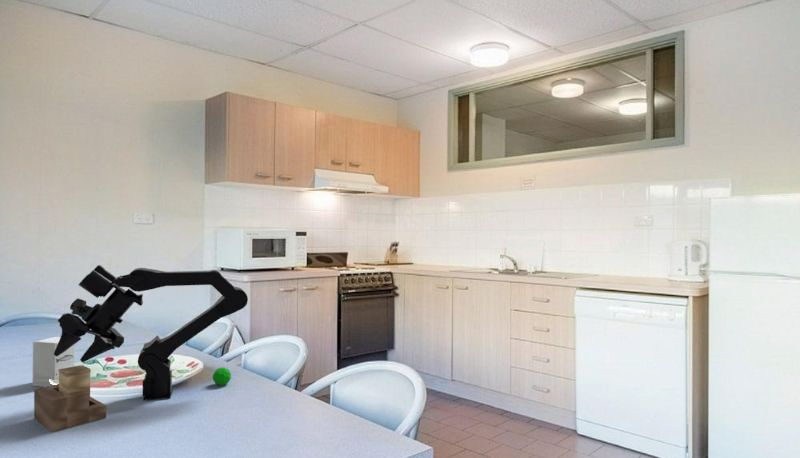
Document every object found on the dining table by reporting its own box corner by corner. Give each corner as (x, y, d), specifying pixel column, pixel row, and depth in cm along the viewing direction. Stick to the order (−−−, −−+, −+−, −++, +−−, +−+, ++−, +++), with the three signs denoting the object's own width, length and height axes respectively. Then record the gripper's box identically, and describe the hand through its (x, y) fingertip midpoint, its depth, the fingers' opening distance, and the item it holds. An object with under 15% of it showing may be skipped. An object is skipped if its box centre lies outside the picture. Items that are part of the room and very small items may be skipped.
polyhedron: (208, 386, 150) (209, 369, 150) (220, 381, 155) (221, 365, 155) (222, 388, 148) (223, 371, 148) (234, 383, 153) (234, 367, 153)
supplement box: (53, 388, 147) (54, 343, 146) (31, 386, 148) (31, 341, 148) (75, 380, 154) (75, 337, 154) (53, 378, 155) (53, 336, 155)
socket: (86, 406, 133) (86, 378, 133) (105, 417, 125) (106, 388, 125) (34, 418, 124) (34, 389, 124) (52, 432, 116) (52, 400, 116)
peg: (82, 393, 129) (82, 365, 129) (90, 398, 126) (90, 368, 126) (58, 398, 125) (58, 369, 125) (66, 403, 122) (66, 373, 122)
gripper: (117, 300, 148) (76, 346, 144) (69, 281, 131) (21, 332, 127) (141, 323, 144) (100, 370, 140) (96, 306, 127) (47, 359, 123)
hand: (68, 358), depth 133 cm, fingers open, 9 cm apart
